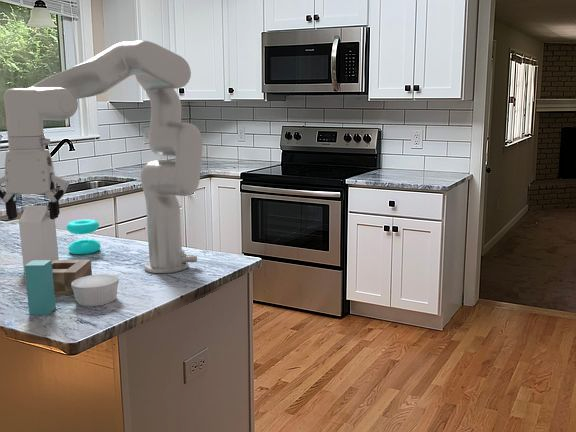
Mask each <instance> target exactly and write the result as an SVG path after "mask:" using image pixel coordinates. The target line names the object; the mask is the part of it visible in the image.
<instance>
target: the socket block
mask: <svg viewBox="0 0 576 432" xmlns="http://www.w3.org/2000/svg"><path fill="white" fill-rule="evenodd" d="M51 262H52V272H53V283H54V294H55V296H70V295H71V296H75V295H74V292H73V289H72V287H71V283H72V282H73V281H74V280H76V279H79V278H82V277H85V276H90V275H93V273H92V270H93V269H92V260H91V259H59V260H51Z"/></svg>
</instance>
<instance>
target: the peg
mask: <svg viewBox="0 0 576 432" xmlns="http://www.w3.org/2000/svg"><path fill="white" fill-rule="evenodd" d="M24 267H25V271H24V275H25V284H26V286H25V287H26V294H27V303H28V304H27V305H28V314H29V315H30V316H37V315H38V316H39V315H40V316H45V315H46V316H49V315H50V314H51V313H52V312H53V311H54V310H55V309H56V308H57V307H56V306H57V305H56V297H55V296H56V295H55V294H54V283H53V272H52V262H51V260H32V261H31V262H29V263H28V264H26V265H24ZM24 267H23V268H24Z"/></svg>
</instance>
